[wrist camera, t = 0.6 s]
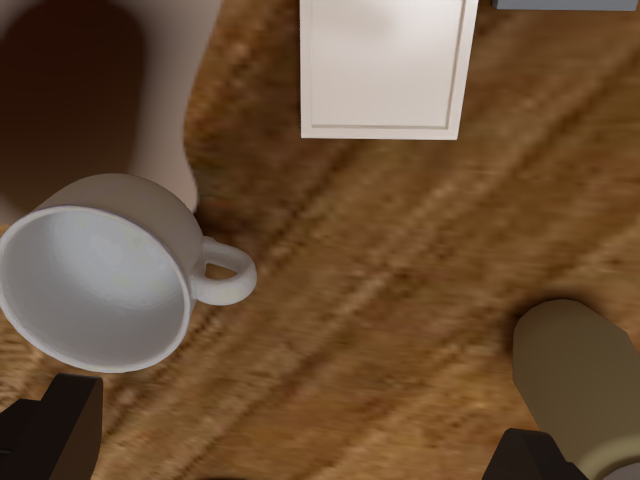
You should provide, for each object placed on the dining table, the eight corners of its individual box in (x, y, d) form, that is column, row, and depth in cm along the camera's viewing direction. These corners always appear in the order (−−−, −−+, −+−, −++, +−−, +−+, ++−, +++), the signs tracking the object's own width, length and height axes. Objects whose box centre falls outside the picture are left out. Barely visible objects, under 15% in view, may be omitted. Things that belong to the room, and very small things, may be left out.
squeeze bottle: (510, 378, 42) (615, 645, 27) (485, 305, 38) (592, 568, 23) (615, 350, 40) (793, 618, 25) (601, 269, 36) (801, 529, 21)
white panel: (300, -18, 27) (299, -15, 26) (475, -16, 27) (480, -13, 26) (302, 131, 31) (301, 137, 30) (453, 133, 31) (456, 139, 30)
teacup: (60, 279, 37) (0, 360, 31) (45, 136, 32) (-32, 196, 25) (255, 307, 38) (240, 391, 32) (274, 173, 33) (260, 241, 26)
